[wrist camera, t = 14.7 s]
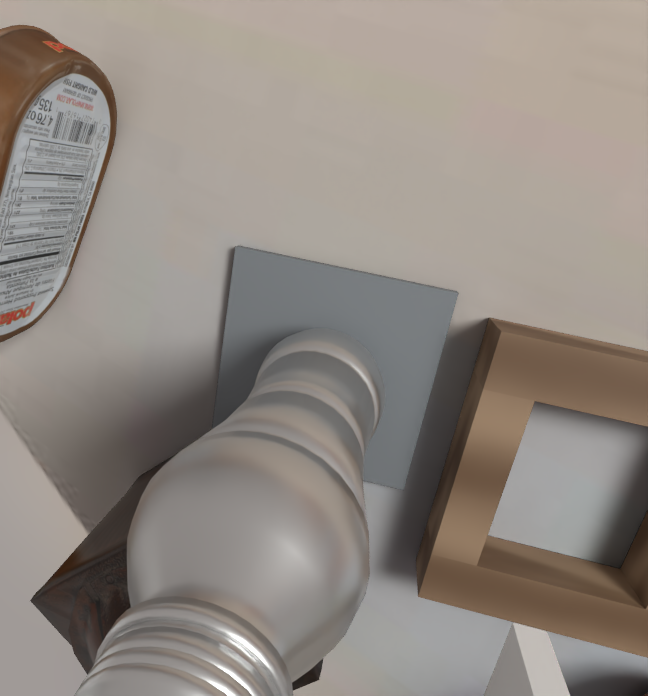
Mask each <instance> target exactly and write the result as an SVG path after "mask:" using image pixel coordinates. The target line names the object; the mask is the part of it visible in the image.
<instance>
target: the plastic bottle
mask: <svg viewBox="0 0 648 696" xmlns="http://www.w3.org/2000/svg"><path fill="white" fill-rule="evenodd" d="M384 406H385V387H384V383H383V378H382V375H381V373H380V371H379V368H378V366H377V364H376V362H375V360H374V358H373V357H372V355H371V354H370V353H369V351H368V350H367V349H366V348H365V347H364V346H363V345H362V344H361V343H360V342H359V341H357V340H355V339H354V338H352V337H351V336H349V335H347V334H345V333H342V332H340V331H336V330H332V329H327V328H314V329H309V330H304V331H301V332H298V333H295V334H293V335H290V336H288V337H286V338H284V339H283V340H282V341H280V342H279V343H277V344H276V345H275V346H274V347H273V348H272V349H271V350H270V352H269V353H268V355H267V356H266V358H265V360H264V361H263V363H262V365H261V368H260V370H259V372H258V375H257V378H256V381H255V385H254V388H253V389H252V391H251V393H250V394H249V396H248V398H247V400H246V401H245V402H244V403H243V404H242V405H240V406H239V407H238V408H237V409H236V410H235V411H234V412H233V413H232V414H231V415H230V416H229V417H228V418H227V419H226V420H225V421H223V422H222V423H221V424H219V425H218V426H216V427H215V428H213V429H212V430H210V431H209V432H208V433H206V434H205V435H203V436H202V437H200V438H199V439H197V440H196V441H194V442H193V443H192V444H190V445H189V446H187V447H186V448H184V449H183V450H181V451H180V452H179V453H177V454H176V455H175V456H174V457H173V458H172V459H171V460H170V461H168V462H167V463H166V464H165V465H164V466H163V467H162V468H161V469H160V470H159V471H158V472H157V473H156V474H155V475H154V476H153V477H152V478H151V480H150V481H149V483H148V485H147V487H146V489H145V490H144V492H143V494H142V496H141V498H140V501H139V504H138V506H137V509H136V511H135V514H134V517H133V519H132V522H131V526H130V530H129V534H128V538H127V582H128V593H129V599H130V605H131V608H129V609H127V610H126V611H125V612H124V613H123V614H122V615H121V616H120V617H119V618H118V619H117V620H116V622H115V623H114V625H113V626H112V628H111V629H110V631H109V632H108V634H107V635H106V637H105V639H104V640H103V642H102V644H101V645H100V647H99V649H98V651H97V655H96V659H95V663H94V666H93V667H92V669H91V670H90V672H89V673H88V675H87V676H86V678H85V680H84V681H83V683H82V684H81V686H80V687H79V689H78V690H77V692H76V693H75V695H74V696H293V688H292V682H294V681H295V680H297V679H298V678H300V677H301V676H302V675H304V674H305V673H307V672H308V671H309V670H311V669H312V668H313V667H314V666H315V665H316V664H317V663H318V662H319V661H320V660H322V659H323V658H324V657H325V656H326V655H327V654H328V653H329V652H330V651H331V650H332V649H333V648H334V647H335V646H336V645H337V644H338V643H339V641H340V640H341V639H342V638H343V637H344V635H345V634H346V632H347V630H348V628H349V626H350V624H351V622H352V620H353V618H354V617H355V615H356V613H357V611H358V609H359V607H360V604H361V602H362V600H363V598H364V596H365V594H366V589H367V584H368V580H369V532H368V525H367V516H366V508H365V499H364V491H363V475H364V456H365V453H366V450H367V447H368V444H369V441H370V439H371V437H372V436H373V435H374V433H375V431H376V428H377V426H378V424H379V421H380V419H381V417H382V414H383V411H384Z"/></svg>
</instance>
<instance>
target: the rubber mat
mask: <svg viewBox="0 0 648 696" xmlns="http://www.w3.org/2000/svg"><path fill="white" fill-rule="evenodd" d="M457 296H458V292H457V291H453V290H448V289H443V288H438V287H434V286H429V285H424V284H419V283H415V282H410V281H405V280H400V279H396V278H391V277H386V276H381V275H377V274H372V273H367V272H362V271H357V270H353V269H348V268H343V267H338V266H334V265H329V264H324V263H319V262H315V261H310V260H305V259H300V258H295V257H291V256H286V255H281V254H276V253H272V252H267V251H262V250H257V249H253V248H248V247H243V246H235V253H234V261H233V269H232V276H231V284H230V292H229V300H228V307H227V315H226V323H225V331H224V338H223V346H222V354H221V362H220V369H219V377H218V385H217V393H216V400H215V408H214V416H213V424H212V429H213V428H215V427H216V426H218V425H219V424H221V423H222V422H223V421H225V420H226V419H227V418H228V417H229V416H230V415H231V414H232V413H233V412H234V411H235V410H236V409H237V408H238V407H239V406H240V405H242V404H243V403H244V402H245V401H246V400H247V398H248V396H249V394H250V393H251V391H252V389H253V388H254V385H255V381H256V378H257V375H258V372H259V370H260V368H261V365H262V363H263V361H264V360H265V358H266V356H267V355H268V353H269V352H270V350H271V349H272V348H273V347H274V346H275V345H276V344H277V343H279V342H280V341H282V340H283V339H284V338H286V337H288V336H290V335H293V334H295V333H298V332H301V331H304V330H309V329H314V328H327V329H332V330H336V331H340V332H342V333H345V334H347V335H349V336H351V337H352V338H354V339H355V340H357V341H359V342H360V343H361V344H362V345H363V346H364V347H365V348H366V349H367V350H368V351H369V353H370V354H371V355H372V357H373V358H374V360H375V362H376V364H377V366H378V368H379V371H380V373H381V375H382V378H383V383H384V387H385V406H384V411H383V414H382V417H381V419H380V421H379V424H378V426H377V428H376V431H375V433H374V435H373V436H372V437H371V439H370V441H369V444H368V447H367V450H366V453H365V456H364V475H363V481H367V482H371V483H376V484H380V485H384V486H388V487H392V488H396V489H400V490H404V487H405V483H406V480H407V476H408V472H409V469H410V465H411V462H412V458H413V454H414V451H415V447H416V444H417V440H418V436H419V433H420V429H421V426H422V422H423V418H424V415H425V411H426V408H427V404H428V400H429V397H430V393H431V390H432V386H433V382H434V379H435V375H436V372H437V368H438V364H439V361H440V357H441V354H442V350H443V346H444V343H445V339H446V336H447V332H448V328H449V325H450V321H451V318H452V314H453V311H454V307H455V303H456V300H457Z"/></svg>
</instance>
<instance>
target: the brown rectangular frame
mask: <svg viewBox="0 0 648 696" xmlns="http://www.w3.org/2000/svg"><path fill="white" fill-rule="evenodd" d="M535 401H537V402H541V403H546V404H550V405H554V406H559V407H563V408H568V409H572V410H577V411H581V412H585V413H590V414H594V415H599V416H603V417H608V418H612V419H616V420H621V421H625V422H630V423H634V424H639V425H643V426H647V427H648V351H644V350H639V349H634V348H630V347H625V346H620V345H616V344H611V343H606V342H602V341H597V340H592V339H588V338H583V337H578V336H573V335H569V334H564V333H559V332H555V331H550V330H545V329H541V328H536V327H531V326H527V325H522V324H517V323H512V322H508V321H503V320H498V319H494V318H489V320H488V324H487V327H486V330H485V334H484V337H483V340H482V344H481V347H480V350H479V353H478V357H477V360H476V363H475V367H474V370H473V373H472V377H471V380H470V383H469V386H468V390H467V393H466V396H465V400H464V403H463V406H462V410H461V413H460V416H459V419H458V423H457V426H456V429H455V433H454V436H453V439H452V443H451V446H450V449H449V452H448V456H447V459H446V462H445V466H444V469H443V472H442V476H441V479H440V482H439V485H438V489H437V492H436V495H435V499H434V502H433V505H432V509H431V512H430V515H429V518H428V522H427V525H426V528H425V532H424V535H423V538H422V542H421V545H420V548H419V551H418V555H417V558H416V569H417V586H418V597H421V598H425V599H429V600H433V601H436V602H440V603H444V604H448V605H451V606H455V607H459V608H463V609H466V610H470V611H474V612H478V613H482V614H485V615H489V616H493V617H497V618H500V619H504V620H508V621H512V622H515V623H519V624H523V625H527V626H531V627H534V628H538V629H542V630H546V631H549V632H553V633H557V634H561V635H565V636H568V637H572V638H576V639H580V640H583V641H587V642H591V643H595V644H598V645H602V646H606V647H610V648H614V649H617V650H621V651H625V652H629V653H632V654H636V655H640V656H644V657H647V658H648V511H647V513H646V515H645V517H644V519H643V521H642V524H641V526H640V528H639V530H638V532H637V534H636V536H635V539H634V541H633V543H632V545H631V547H630V549H629V551H628V554H627V556H626V558H625V560H624V562H623V564H622V566H621V568H620V569H619V568H615V567H611V566H607V565H603V564H599V563H595V562H591V561H587V560H583V559H579V558H575V557H571V556H567V555H563V554H559V553H555V552H551V551H547V550H543V549H539V548H535V547H531V546H527V545H523V544H519V543H515V542H511V541H507V540H503V539H499V538H495V537H491V536H487V535H488V532H489V530H490V527H491V524H492V521H493V518H494V515H495V513H496V510H497V507H498V504H499V501H500V498H501V496H502V493H503V490H504V487H505V484H506V481H507V479H508V476H509V473H510V470H511V467H512V464H513V461H514V459H515V456H516V453H517V450H518V447H519V444H520V442H521V439H522V436H523V433H524V430H525V427H526V425H527V422H528V419H529V416H530V413H531V410H532V408H533V405H534V402H535Z"/></svg>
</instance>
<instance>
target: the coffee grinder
mask: <svg viewBox="0 0 648 696" xmlns="http://www.w3.org/2000/svg"><path fill="white" fill-rule="evenodd" d="M173 457H174V456H173ZM173 457H171V458H169V459H168V460H166V461H164V462H163V463H161V464H159V465H157V466H156V467H154V468H153V469H151V470H149V471H148V472H146V473H144V474H143V475H141V476H139V477H138V479H137V480H136V481H135V483H134V484H133V485H132V486H131V488H130V489H129V490H128V492H127V493H126V494H125V496H124V497H123V498H122V499H121V500H120V501H119V502H118V503H117V504H116V505H115V506H114V508H113V509H112V510H111V511H110V512H109V513H108V514H107V515H106V516H105V517H104V518H103V520H102V521H101V522H100V523H99V524H98V525H97V526H96V527H95V528H94V530H93V531H92V532H91V533H90V534H89V535H88V536H87V537H86V538H85V539H84V541H83V542H82V543H81V544H80V545H79V546H78V547H77V548H76V550H75V551H74V552H73V553H72V554H71V555H70V556H69V558H68V559H67V560H66V561H65V562H64V563H63V564H62V565H61V567H60V568H59V569H58V570H57V571H56V572H55V573H54V574H53V576H52V577H51V578H50V579H49V580H48V581H47V582H46V584H45V585H44V586H43V587H42V588H41V589H40V590H39V591H37V592H36V594H35V595H34V596H33V598H32V599H31V602H32V603H33V604H34V605H35V606H36V607H37V608H38V609H39V610H40V612H41V613H42V614H43V615H44V616H45V617H46V618H47V619H48V620H49V622H50V623H51V624H52V625H53V626H54V627H55V628H56V629H57V630H58V631H59V633H60V634H61V635H62V636H63V637H64V638H65V639H66V640H67V641H68V642H69V643H70V644H71V645H72V647H73V651H74V654H75V655H76V657H77V658H78V660H79V662H80V663H81V665H82V667H83V668H84V670H85V671H86V673H87V675H88V673H89V672H90V670H91V669H92V667H93V666H94V663H95V659H96V655H97V651H98V649H99V647H100V645H101V644H102V642H103V640H104V639H105V637H106V635H107V634H108V632H109V631H110V629H111V628H112V626H113V625H114V623H115V622H116V620H117V619H118V618H119V617H120V616H121V615H122V614H123V613H124V612H125V611H126V610H127V609H129V608H131V605H130V599H129V593H128V582H127V538H128V534H129V530H130V526H131V522H132V519H133V517H134V514H135V511H136V509H137V506H138V504H139V501H140V498H141V496H142V494H143V492H144V490H145V489H146V487H147V485H148V483H149V481H150V480H151V478H152V477H153V476H154V475H155V474H156V473H157V472H158V471H159V470H160V469H161V468H162V467H163V466H164V465H165V464H166V463H167V462H168V461H170V460H171V459H172V458H173ZM322 663H323V659H322V660H320V661H319V662H318V663H317V664H316V665H315V666H314V667H313V668H312V669H311V670H309V671H308V672H307V673H305V674H304V675H302V676H301V677H300V678H298V679H297V680H295V681H294V682H292V688H293V690H295V689H298V688H300V687H303V686H305V685H307V684H310V683H312V682H315V681H317V680H319V677H320V673H321V669H322Z"/></svg>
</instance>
